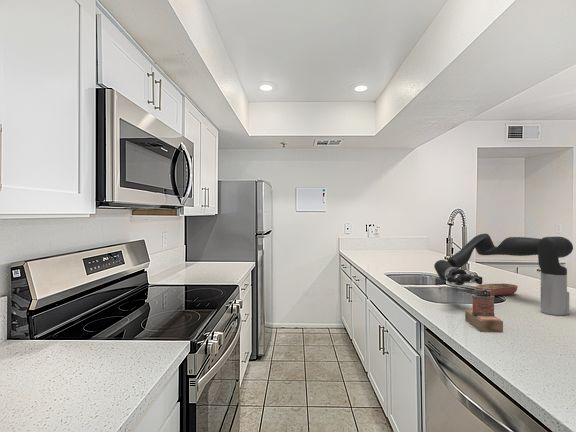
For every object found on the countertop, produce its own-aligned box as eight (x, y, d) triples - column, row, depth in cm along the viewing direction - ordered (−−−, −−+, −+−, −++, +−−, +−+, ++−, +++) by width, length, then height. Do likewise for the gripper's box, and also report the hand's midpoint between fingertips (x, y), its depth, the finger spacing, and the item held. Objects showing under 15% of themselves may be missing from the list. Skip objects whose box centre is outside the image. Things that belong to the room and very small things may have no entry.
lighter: (492, 314, 140) (492, 288, 139) (496, 316, 136) (496, 290, 136) (470, 313, 141) (470, 288, 140) (473, 315, 137) (473, 290, 137)
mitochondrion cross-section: (485, 299, 180) (485, 289, 180) (471, 294, 190) (471, 285, 190) (521, 296, 186) (521, 286, 186) (505, 291, 196) (505, 282, 196)
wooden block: (485, 320, 145) (485, 309, 145) (503, 332, 131) (503, 320, 131) (465, 319, 146) (465, 309, 146) (480, 331, 132) (480, 320, 132)
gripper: (471, 283, 168) (487, 291, 152) (440, 283, 169) (453, 290, 153) (471, 267, 168) (487, 273, 152) (440, 267, 169) (453, 273, 153)
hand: (470, 282), depth 153 cm, fingers open, 8 cm apart
